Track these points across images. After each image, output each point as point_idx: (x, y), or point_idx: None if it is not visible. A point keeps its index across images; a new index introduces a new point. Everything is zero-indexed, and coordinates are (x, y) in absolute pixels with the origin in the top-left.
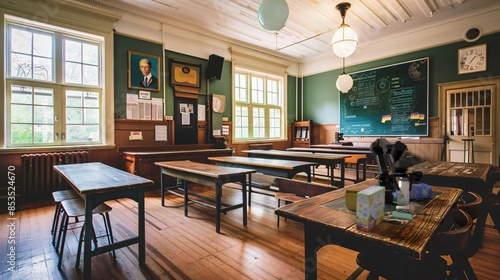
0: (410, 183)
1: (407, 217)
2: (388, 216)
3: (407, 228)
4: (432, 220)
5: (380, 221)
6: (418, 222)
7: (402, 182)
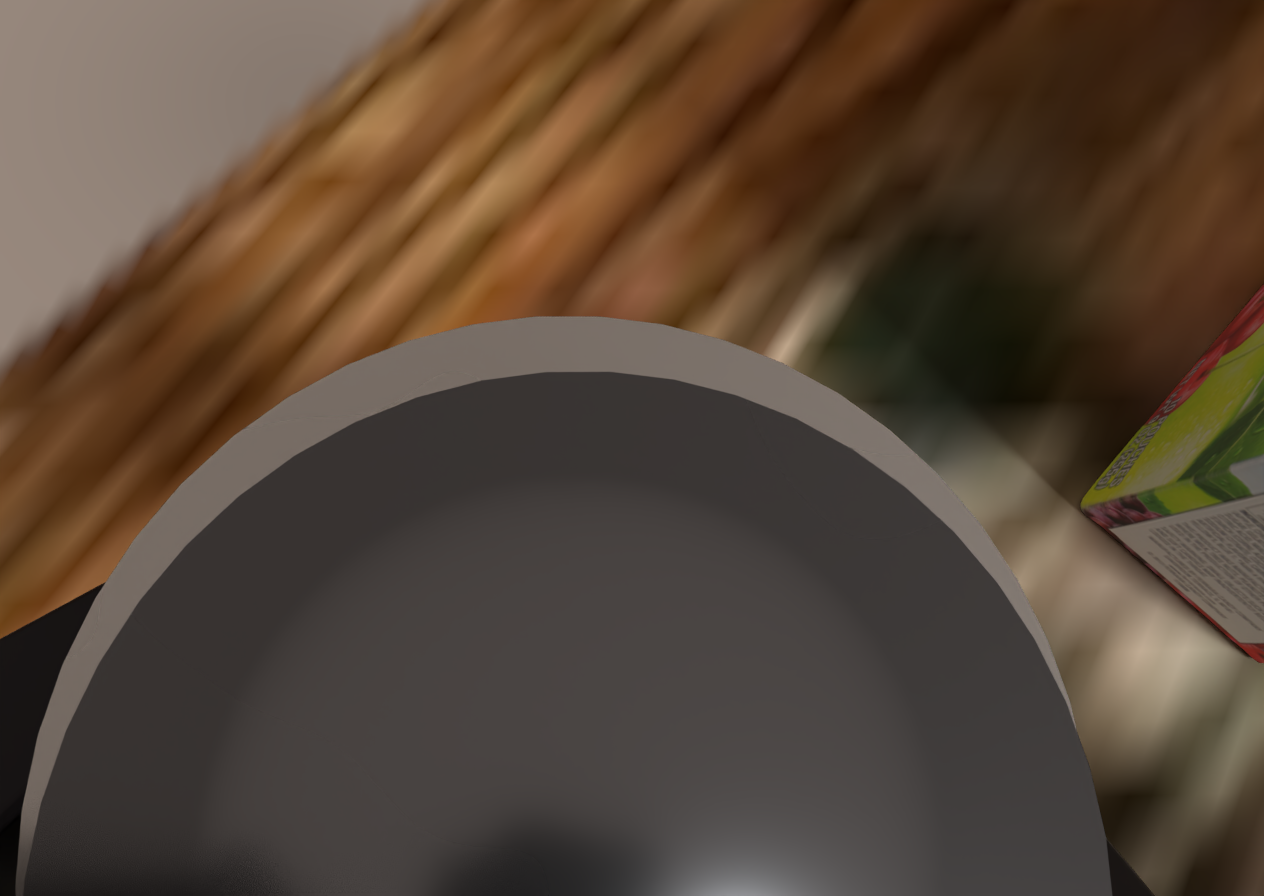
0: (3, 732)
1: None
2: None
3: (878, 33)
4: (45, 450)
5: (1248, 305)
6: None
7: (878, 466)
